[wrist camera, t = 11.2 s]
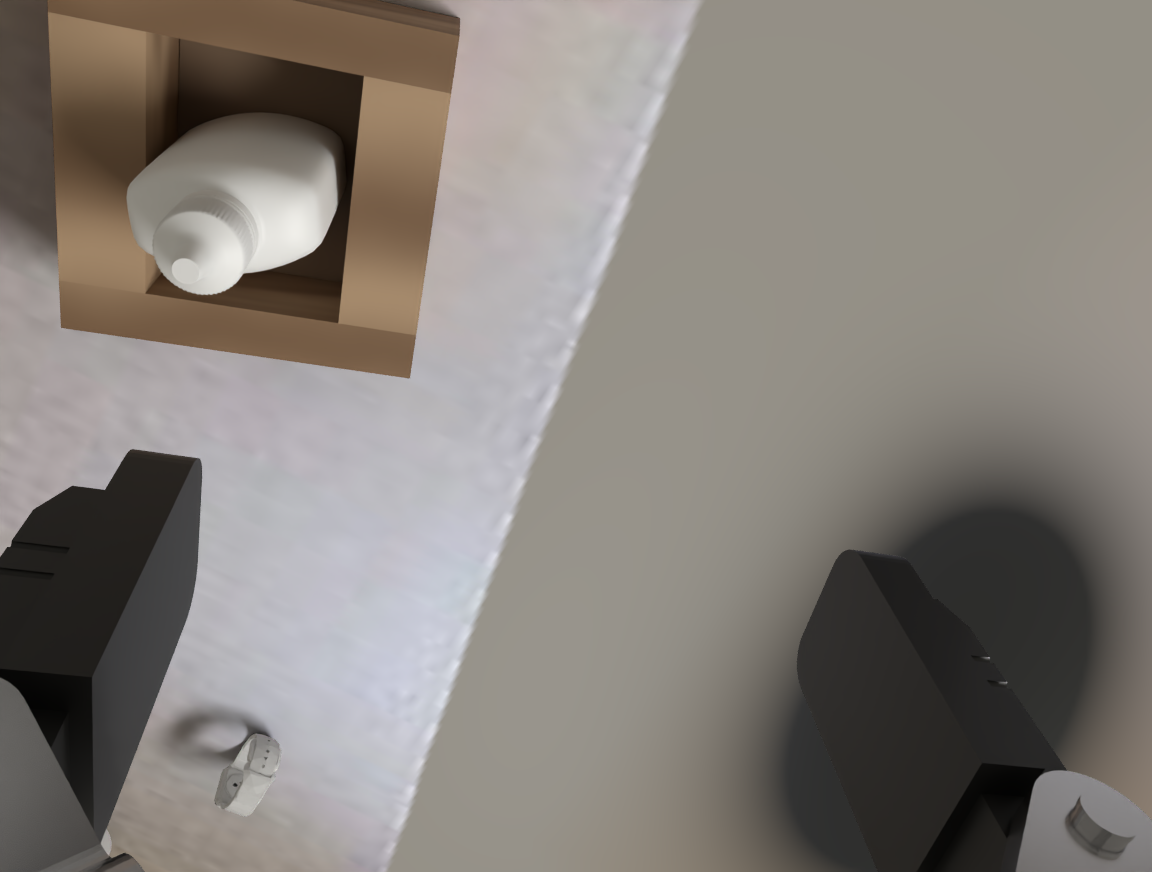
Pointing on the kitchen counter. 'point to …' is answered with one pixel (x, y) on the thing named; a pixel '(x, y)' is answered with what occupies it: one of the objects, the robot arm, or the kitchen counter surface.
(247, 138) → the eye dropper bottle
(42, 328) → the kitchen counter surface
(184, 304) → the socket block
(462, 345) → the kitchen counter surface
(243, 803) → the smartwatch
